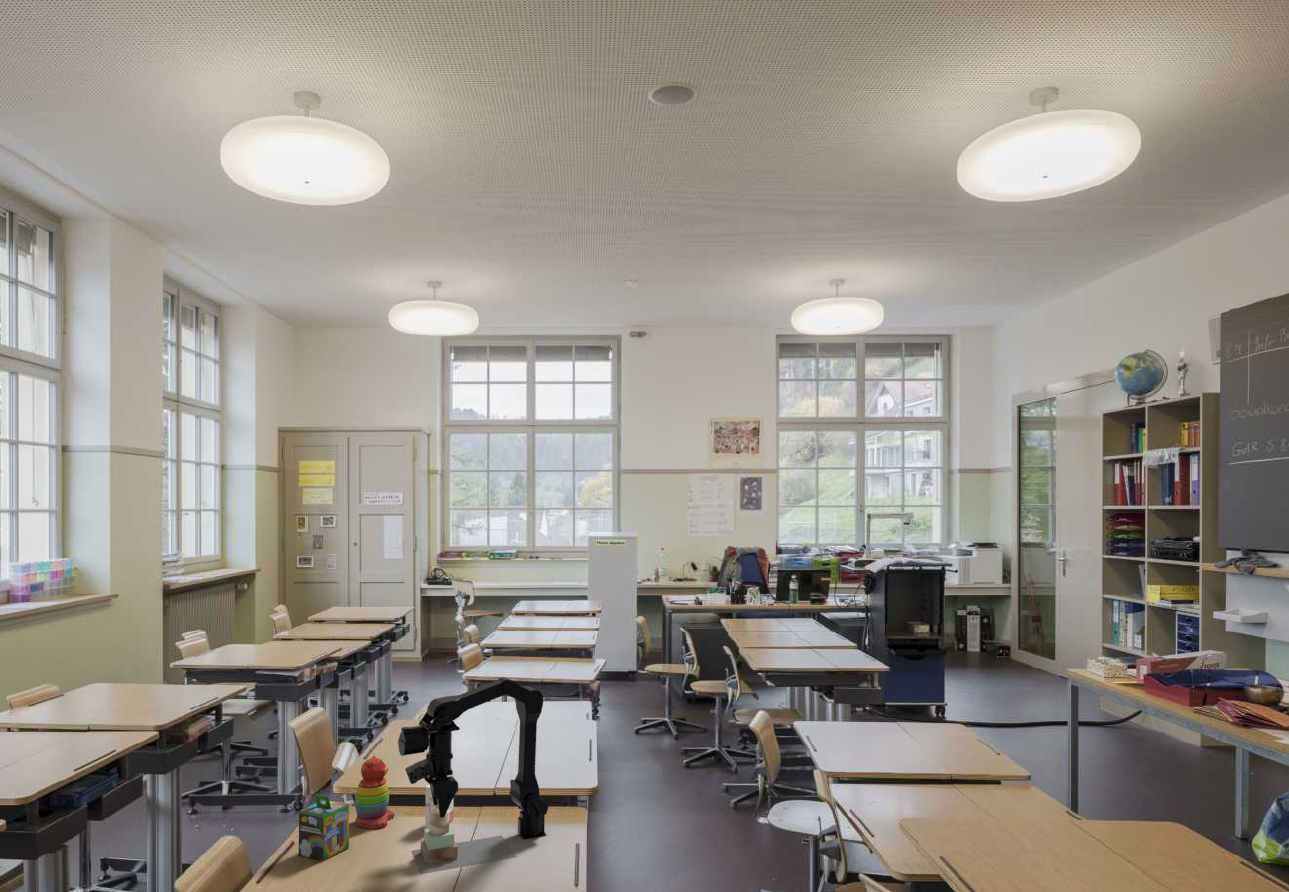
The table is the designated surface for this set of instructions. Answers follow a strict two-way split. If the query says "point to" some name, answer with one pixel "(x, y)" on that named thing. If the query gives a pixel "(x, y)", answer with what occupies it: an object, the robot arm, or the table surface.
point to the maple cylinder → (438, 823)
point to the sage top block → (438, 840)
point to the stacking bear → (373, 796)
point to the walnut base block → (438, 853)
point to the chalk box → (323, 829)
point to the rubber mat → (469, 854)
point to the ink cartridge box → (431, 806)
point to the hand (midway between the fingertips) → (439, 811)
